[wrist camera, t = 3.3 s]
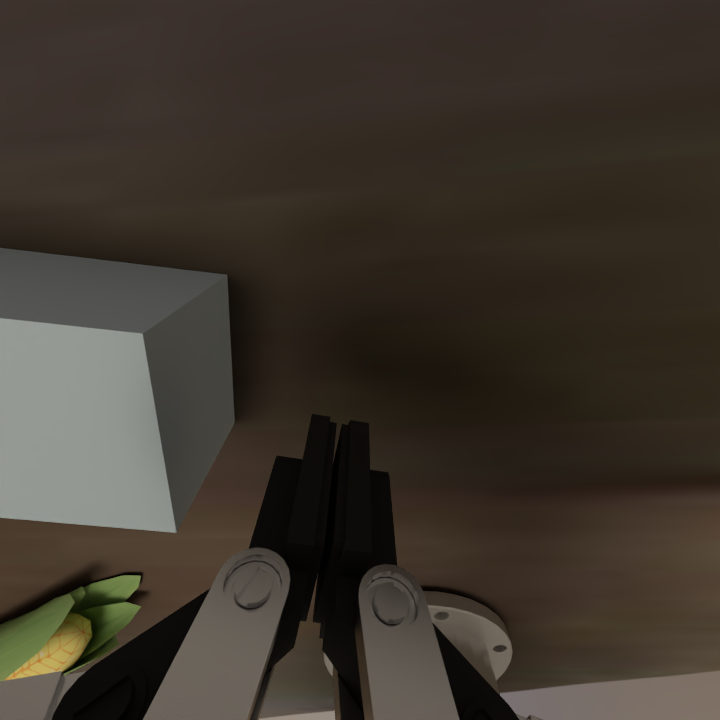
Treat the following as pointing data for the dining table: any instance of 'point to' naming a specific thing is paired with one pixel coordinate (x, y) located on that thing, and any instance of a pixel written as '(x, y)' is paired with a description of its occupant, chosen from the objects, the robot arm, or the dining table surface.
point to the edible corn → (67, 629)
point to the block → (110, 389)
